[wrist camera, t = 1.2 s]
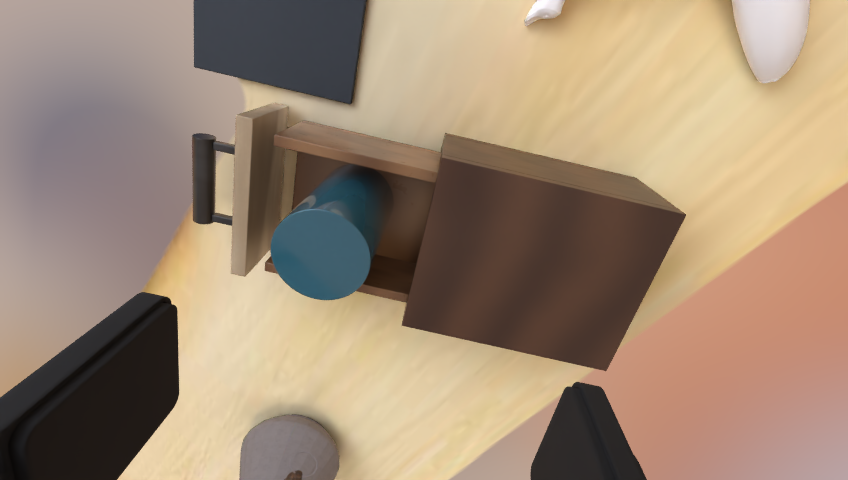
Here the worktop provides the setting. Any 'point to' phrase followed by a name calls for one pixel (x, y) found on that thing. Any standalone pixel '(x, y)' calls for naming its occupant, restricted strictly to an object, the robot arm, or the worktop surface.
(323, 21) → the mat
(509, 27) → the worktop surface
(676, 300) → the worktop surface
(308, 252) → the teal blue cylinder
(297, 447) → the turkish coffee pot
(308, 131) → the drawer
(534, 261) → the cabinet
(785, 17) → the banana
